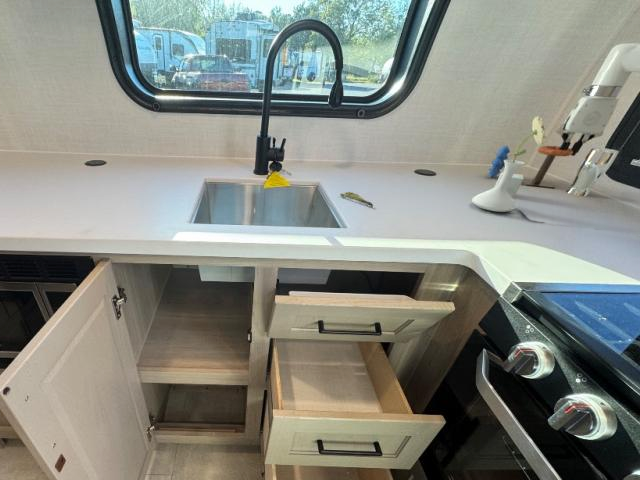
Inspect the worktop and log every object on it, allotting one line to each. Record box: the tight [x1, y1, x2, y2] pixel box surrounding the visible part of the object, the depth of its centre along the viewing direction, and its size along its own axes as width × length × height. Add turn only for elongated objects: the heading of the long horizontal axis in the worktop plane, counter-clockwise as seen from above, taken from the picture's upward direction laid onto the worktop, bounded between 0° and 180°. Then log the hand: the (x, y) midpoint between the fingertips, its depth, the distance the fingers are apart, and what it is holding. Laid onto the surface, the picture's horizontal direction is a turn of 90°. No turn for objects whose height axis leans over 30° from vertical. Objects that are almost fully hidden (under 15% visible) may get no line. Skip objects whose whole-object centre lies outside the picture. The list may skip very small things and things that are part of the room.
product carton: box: [494, 171, 524, 199], centre depth 105 cm, size 6×6×7 cm
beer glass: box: [565, 147, 620, 197], centre depth 106 cm, size 7×7×15 cm
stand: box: [520, 155, 557, 190], centre depth 116 cm, size 9×9×12 cm
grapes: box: [488, 145, 511, 178], centre depth 124 cm, size 12×7×12 cm, turn 134°
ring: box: [537, 145, 574, 157], centre depth 112 cm, size 10×10×2 cm
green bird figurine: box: [339, 191, 374, 209], centre depth 101 cm, size 4×13×2 cm, turn 32°
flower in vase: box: [471, 115, 547, 213], centre depth 91 cm, size 13×11×25 cm
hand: (566, 154), depth 112 cm, fingers closed on ring, 2 cm apart
